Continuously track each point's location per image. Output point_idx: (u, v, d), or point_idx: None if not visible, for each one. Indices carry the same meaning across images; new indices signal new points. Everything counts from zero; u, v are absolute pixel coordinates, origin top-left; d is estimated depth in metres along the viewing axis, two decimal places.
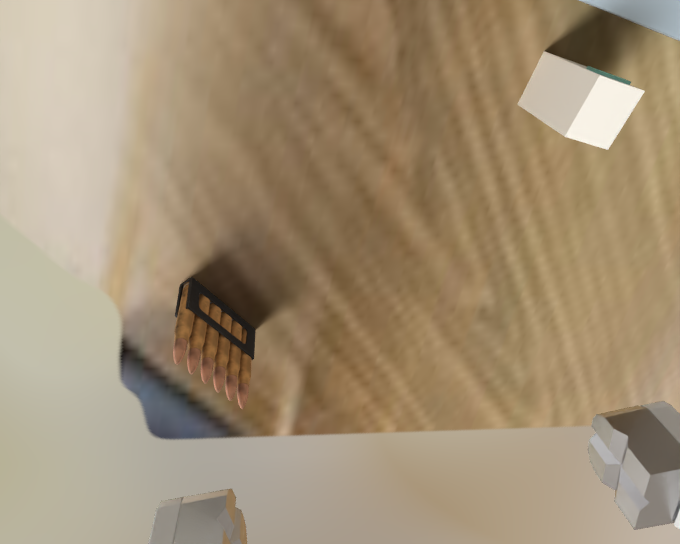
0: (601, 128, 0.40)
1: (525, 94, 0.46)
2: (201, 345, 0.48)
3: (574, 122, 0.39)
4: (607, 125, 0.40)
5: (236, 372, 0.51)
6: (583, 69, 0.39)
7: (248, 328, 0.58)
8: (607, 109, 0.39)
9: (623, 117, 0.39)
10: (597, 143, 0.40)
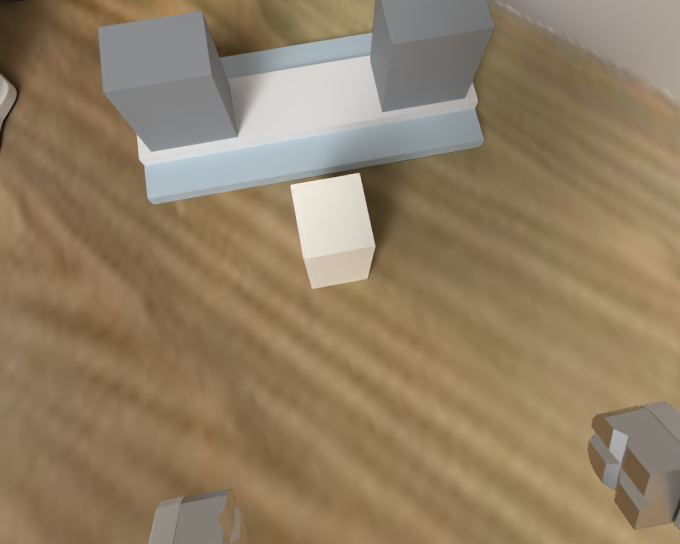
0: (343, 229, 0.30)
1: None
2: None
3: (302, 239, 0.30)
4: (348, 222, 0.30)
5: None
6: None
7: None
8: (332, 208, 0.30)
9: (360, 207, 0.30)
10: (354, 246, 0.30)
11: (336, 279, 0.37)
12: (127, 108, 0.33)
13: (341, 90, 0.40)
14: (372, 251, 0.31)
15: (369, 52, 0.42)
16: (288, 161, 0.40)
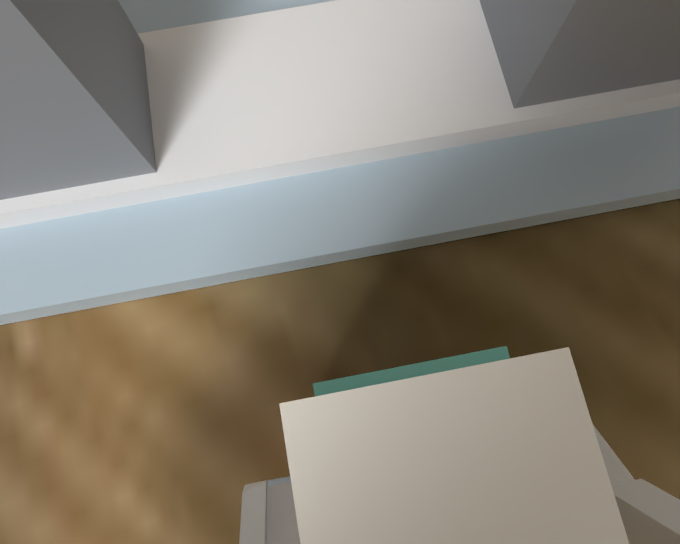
0: None
1: None
2: None
3: None
4: None
5: None
6: None
7: None
8: (464, 522, 0.07)
9: (590, 515, 0.07)
10: None
11: None
12: None
13: (411, 57, 0.17)
14: None
15: None
16: (284, 229, 0.16)
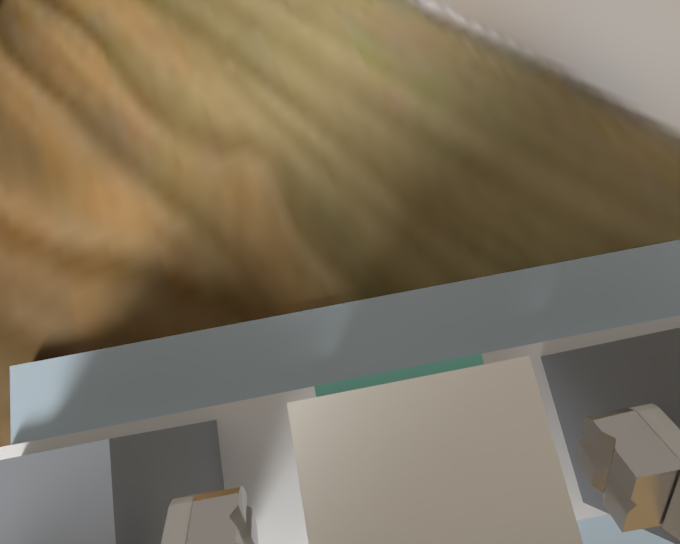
0: None
1: None
2: None
3: None
4: None
5: None
6: None
7: None
8: (439, 501, 0.08)
9: (544, 496, 0.08)
10: None
11: None
12: None
13: None
14: None
15: (527, 317, 0.19)
16: None
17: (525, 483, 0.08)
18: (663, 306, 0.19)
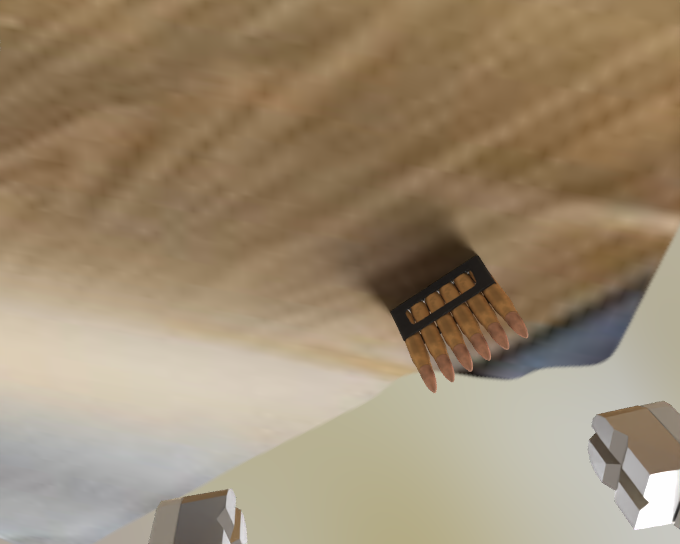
0: None
1: None
2: (439, 349, 0.43)
3: None
4: None
5: (488, 319, 0.42)
6: None
7: (469, 265, 0.48)
8: None
9: None
10: None
11: None
12: None
13: None
14: None
15: None
16: None
17: None
18: None
